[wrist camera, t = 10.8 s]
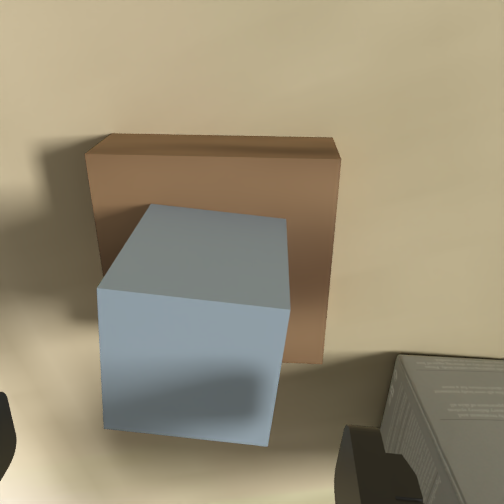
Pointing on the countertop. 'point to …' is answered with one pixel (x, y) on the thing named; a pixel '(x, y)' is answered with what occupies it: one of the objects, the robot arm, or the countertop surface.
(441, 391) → the skincare box
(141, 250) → the blue block
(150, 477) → the countertop surface
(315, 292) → the walnut base
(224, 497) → the countertop surface
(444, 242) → the countertop surface
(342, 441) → the robot arm
